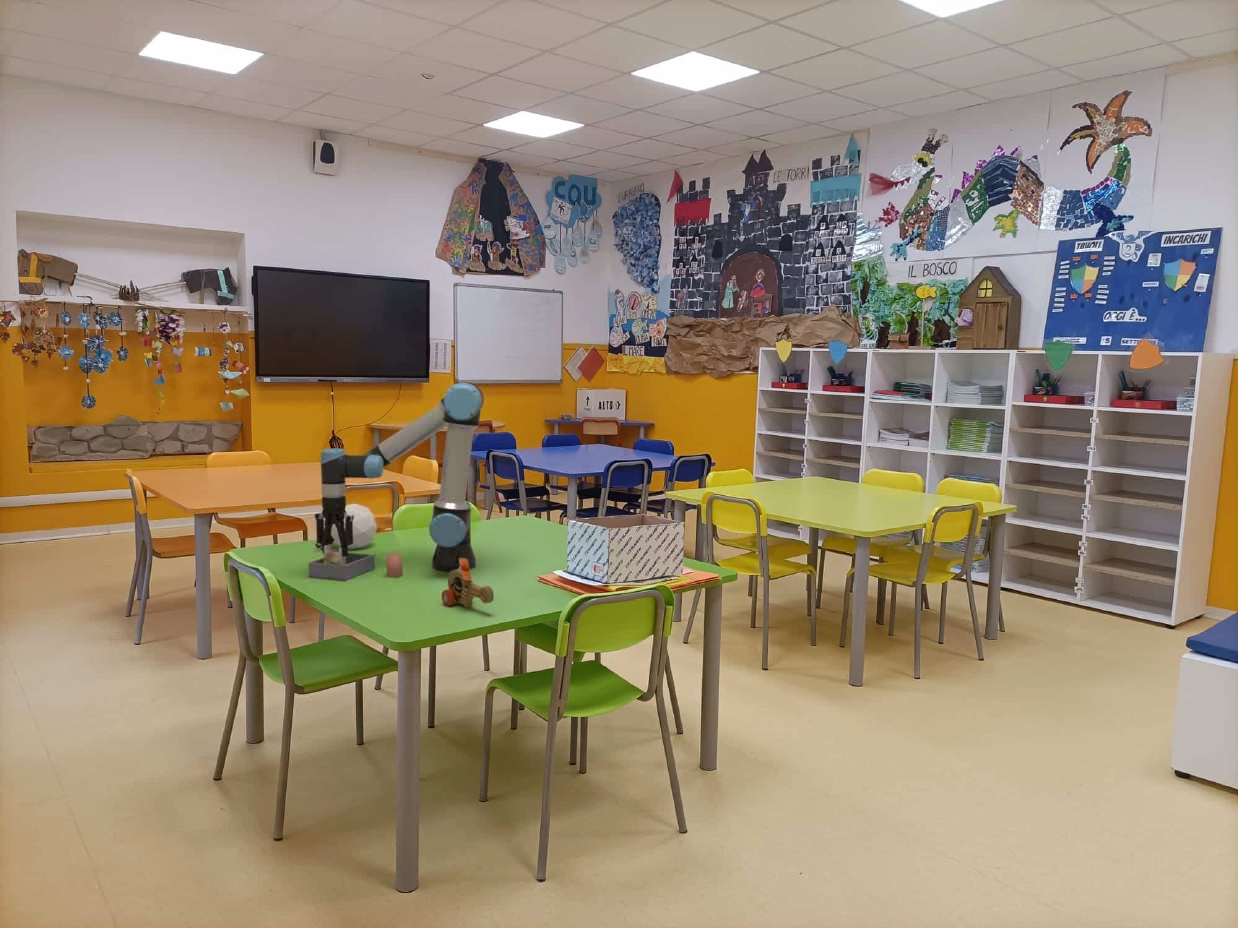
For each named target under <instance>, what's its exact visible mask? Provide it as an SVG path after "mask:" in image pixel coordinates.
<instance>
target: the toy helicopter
mask: <svg viewBox="0 0 1238 928" xmlns="http://www.w3.org/2000/svg"><path fill="white" fill-rule="evenodd" d="M459 563H460V567H459V569H456V570H453V571H449V573H448V575H447V585H448V589H445V590H443V591H442V592H441V600H442V603H443V605H445V606H446V607H449V606H452V605H454V604H455V602H456V603H458V604H460V605H463V606H464V608H467V609H468V608H472V607H473V604H474V603H473V602H474V601H473V599H474V597H475V598H478V599H480V601H481V602H482V603H483V604H489V603H492V602H493V601H494V597H495V596H494V591H493V589H492V587H491V586H490V585H485V586H481V585H478V584H476V583H474V581H473V580H472V572H471V571H472V570H471V569H472V568H471V569H470V568H469V563H468V560H467V559H466V558H459Z"/></svg>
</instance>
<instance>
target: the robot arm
mask: <svg viewBox="0 0 1238 928" xmlns="http://www.w3.org/2000/svg"><path fill="white" fill-rule="evenodd" d="M483 393H484V392H483V391H482V390H481V389H480V388H479V386H477V385H476V384H474V383H472V382H468V381H467V382H458V383H454V385H452V386H450V387H449V388H448V389H447V391H446V392H445V394H444V397H442V398H441V399H440V400H439V403H438V405H436V406H435V407H433V408H431V409H430V410H428V411H427V412H426V413H424V414H423V415H421V416H419V417H418V418H416V419H415V420H413V421H412V422H411V423H409V424H408V425H406V426H405V427H403V428H402V429H399V430H398V431H397V432H395V433H394V434H393V435H391V436H389V437H387V438H386V439H385V440H383V441H382V442H380V443H379V444H377V445H376V446H374V447H373V448H371V449H370V450H368V451H366V452H365V453H363V454H359V455H355V454H353V455H350V454H349V455H348V454H346V452H345V451H346V450H345V449H344V448H335V447H334V448H325V449H322V451H321V453H320V463H319V464H320V469H321V470H320V476H321V483H320V485H321V488H320V489H321V496H322V497H321V507H322V511H321V512H318V513H315V514H314V518H315V521H316V524H315V526H316V529H315V530H316V542H317V543H320V544H322V546H321V547H322V555H323V556H324V552H327V551H330V550H332V544H331V545H330V543H329V540H330V535H331V530H332V526H333V524H335V527H336V528H337V531H338V535H339V539H340V544H341V546H339V547H338V550H339V565H346V556H347V555H348V553H349V549H348V546H349V545H351V544H353V519H354V516H353V515H348V514H347V513H346V511H345V507H346V505H347V497H346V496H345V495H346V479H351V478H352V479H370V480H371V479H380V478H381V477H382V476H383V473H384V468H386V467H387V466H388V465H390V464H392V463H393V462H394V461H396V460H397V459H399V458H400V457H403V455H405V454H407V453H408V452H410V451H411V450H413V449H414V448H416V447H417V446H419V445H420V444H422V443H423V442H425V441H426V440H428V439H430V438H431V437H432V436H434V435H436V434H437V433H439V432H440V431H442V430H443V429H445V428H446V436H445V444H444V451H443V454H444V456H443V462H442V471H441V481H440V487H439V496H438V497H439V498H438V499H437V500H436V501H435V502H434V503H433V507H432V515H431V516H432V517H431V521H430V524H429V528H428V529H429V530H428V531H429V536H430V538H431V539H432V541H433V542H434V543H435V544H436V547H435V550H434V553H433V556H432V558H431V568H432V569H434V570H437V571H443V572H444V571H445V572H451V571H453V570H456V569H459V567H460V563H459V558H466V559H467V560H468V563H469V568H470V569H473V568H475V567H476V565H477V563H476V561H477V560H476V556H475V553H474V551H473V550H474V549H473V548H472V544H471V543H472V539H471V537H472V536H471V526H472V525H471V512H472V508H471V503H470V502H469V501H466V498H467V492H468V491H467V490H468V481H469V473H470V465H471V464H470V462H471V454H472V446H473V439H474V431H475V430H477V428H479V426H480V418H481V411H482V408H483V405H484V402H485V401H484V400H485V398H484V394H483ZM344 518H345V524H344V520H343V519H344ZM344 525H345V528H344ZM328 544H329V545H328Z"/></svg>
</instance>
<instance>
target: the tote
mask: <svg viewBox="0 0 1238 928" xmlns="http://www.w3.org/2000/svg"><path fill="white" fill-rule="evenodd" d="M374 570H376V555H375V554H369V553H357V552H348V555H347V556H346V565H334V564H324V557H322V558H319V559H315V560H313V561H310V562H308V578H309V579H310V578H311V579H318V580H319V579H320V580H329V581H337V582H347V581H350V580H352V579H354V578H356V577H360V576H361V575H364V574H367V573H370V572H371V571H374ZM366 572H367V573H366Z"/></svg>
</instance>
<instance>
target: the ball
mask: <svg viewBox="0 0 1238 928" xmlns="http://www.w3.org/2000/svg"><path fill="white" fill-rule="evenodd" d="M345 511H346V513H347V514H348V515H353V516H354V519H353V544H351V545H349V546H348V550H351V551H352V550H356V549H361V548H364V547H366V546H367V545H368V544H369V543H370V542H372V541H373V539H374V536H375V535H376V531H377V529H378V526H377V523H376V519H375V515H374V514H373V512H372V511H371V510H370V508H369V507H367V506H365V505H362V504H361V505H360V504H358V503H351V504H350V503H349V504H346V507H345ZM343 520H344V524H345V518H344V519H343ZM344 528H345V525H344ZM329 543H330V545H331V546H332V544H335V543H336V544H337V546H339V547H340V546H341V544H340V539H339V535H338V531H337V528H336V527H335V524H333V526H332V530H331V535H330V540H329ZM328 545H329V544H328ZM315 547H317V549H320V548H321V547H322V544H320V543H317V541H316V542H315Z"/></svg>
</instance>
